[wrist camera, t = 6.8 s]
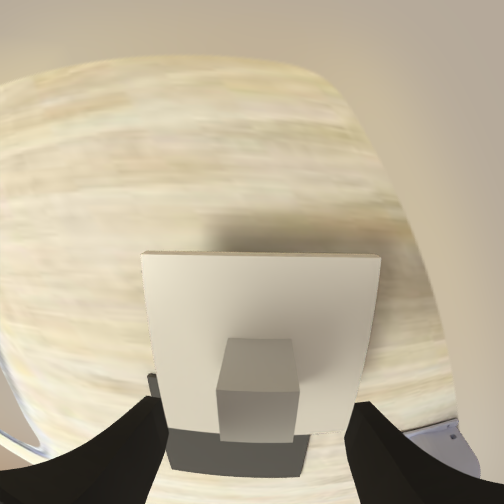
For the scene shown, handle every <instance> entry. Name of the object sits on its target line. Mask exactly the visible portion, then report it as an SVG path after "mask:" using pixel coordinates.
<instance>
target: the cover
mask: <svg viewBox="0 0 504 504" xmlns="http://www.w3.org/2000/svg"><path fill="white" fill-rule="evenodd" d="M141 266H142V278H143V288H144V297H145V305H146V313H147V321H148V328H149V335H150V341H151V347H152V353H153V359H154V365H155V370H156V375H157V380H158V385H159V390H160V395H161V399H162V404H163V408H164V413H165V417H166V421H167V425H168V428H175V429H182V430H190V431H199V432H208V433H220V441H228V442H248V443H293V438H294V435H307V434H323V433H334V432H344V431H346V430H347V427H348V424H349V420H350V417H351V414H352V410H353V407H354V403H355V400H356V396H357V392H358V388H359V385H360V380H361V376H362V372H363V368H364V363H365V359H366V354H367V349H368V344H369V339H370V334H371V329H372V323H373V317H374V311H375V305H376V298H377V291H378V283H379V275H380V267H381V257H379V256H378V255H376V254H338V253H270V252H202V251H145V252H144V253H142V254H141Z"/></svg>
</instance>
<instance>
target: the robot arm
mask: <svg viewBox="0 0 504 504" xmlns="http://www.w3.org/2000/svg"><path fill="white" fill-rule="evenodd" d="M458 422H459V420H458V419H453V420H450V421H446V422H443V423H440V424H436V425H432V426H429V427H425V428H421V429H417V430H413V431H408V432H404V433H402V432H400V431H399V430H398V429H397V428H396V427H395V426H394V425H393V424H392V423H391V422H390V421H389V420H388V419H387V418H386V417H385V416H384V415H383V414H382V413H381V412H380V411H379V410H378V409H377V408H376V407H375V406H374V405H373V404H372V403H371V402H370V401H368V402H359V403H354V407H353V410H352V414H351V417H350V420H349V424H348V427H347V430H346V433H345V436H344V440H345V447H346V453H347V459H348V463H349V466H350V469H351V473H352V476H353V479H354V483H355V486H356V489H357V493H358V496H359V499H360V503H361V504H504V484H499V483H494V482H490V481H486V480H482V479H480V465H479V461H478V459H477V457H476V456H475V454H474V452H473V451H472V449H471V448H470V446H469V445H468V443H467V442H466V440H465V439H464V437H463V436H462V434H461V433H460V431H459V430H458V428H457V427H456V426H457V424H458ZM168 436H169V430H168V426H167V422H166V418H165V413H164V409H163V404H162V400H161V398H157V397H151V396H146V397H144V398H143V399H142V400H141V401H140V402H138V403H137V404H136V405H135V406H134V407H133V408H132V409H130V410H129V411H128V412H127V413H126V414H124V415H123V416H122V417H121V418H120V419H118V420H117V421H116V422H115V423H113V424H112V425H111V426H110V427H108V428H107V429H106V430H104V431H103V432H101V433H100V434H99V435H97V436H96V437H94V438H93V439H91V440H90V441H88V442H87V443H85V444H83V445H81V446H80V447H78V448H76V449H74V450H72V451H70V452H68V453H66V454H63V455H61V456H59V457H56V458H54V459H51V460H49V461H46V462H42V463H39V464H36V465H32V466H28V467H24V468H17V469H11V470H3V471H0V504H145V502H146V499H147V496H148V494H149V491H150V489H151V486H152V484H153V481H154V479H155V476H156V474H157V471H158V469H159V466H160V464H161V461H162V458H163V456H164V453H165V449H166V445H167V441H168Z"/></svg>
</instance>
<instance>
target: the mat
mask: <svg viewBox="0 0 504 504" xmlns="http://www.w3.org/2000/svg"><path fill="white" fill-rule="evenodd" d="M147 378H148V383H149V387H150V392H151V396H152V397H157V398H161V395H160V390H159V385H158V380H157V375H154V374H148V376H147ZM161 400H162V399H161ZM163 409H164V408H163ZM165 418H166V417H165ZM166 422H167V421H166ZM167 426H168V425H167ZM168 430H169V436H168V441H167V445H166V452H167V456H168V459H169V462H170V465H171V468H172V469H174V470H180V471H186V472H193V473H201V474H210V475H220V476H233V477H254V478H287V477H300V474H301V470H302V466H303V462H304V457H305V453H306V449H307V445H308V440H309V435H310V434H307V435H294V438H293V443H248V442H228V441H220V433H208V432H199V431H190V430H182V429H175V428H168Z"/></svg>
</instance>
